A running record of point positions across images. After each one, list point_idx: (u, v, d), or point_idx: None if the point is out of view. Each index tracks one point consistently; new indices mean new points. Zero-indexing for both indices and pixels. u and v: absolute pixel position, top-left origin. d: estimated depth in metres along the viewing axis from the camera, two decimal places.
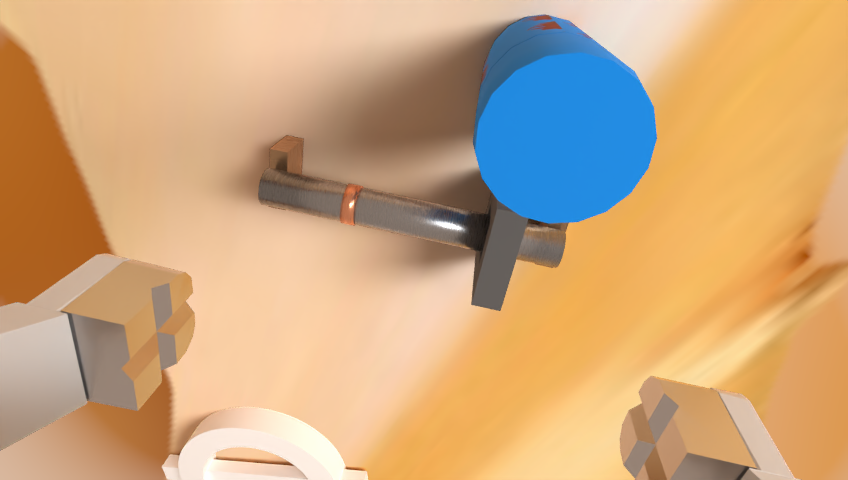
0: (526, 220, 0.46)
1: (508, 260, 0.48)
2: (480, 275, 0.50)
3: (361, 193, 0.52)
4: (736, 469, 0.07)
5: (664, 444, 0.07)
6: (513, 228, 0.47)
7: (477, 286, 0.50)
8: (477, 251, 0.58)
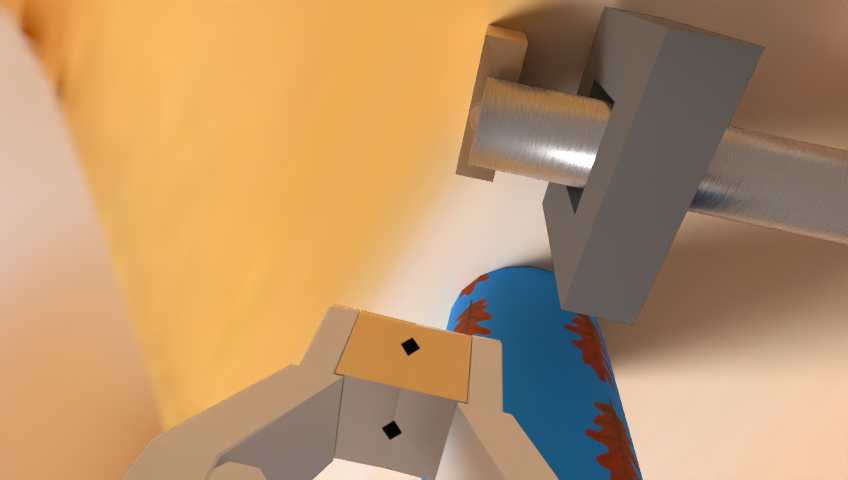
0: (568, 300, 0.21)
1: (621, 203, 0.18)
2: (708, 157, 0.17)
3: None
4: (449, 404, 0.07)
5: None
6: (598, 284, 0.20)
7: (726, 119, 0.17)
8: None
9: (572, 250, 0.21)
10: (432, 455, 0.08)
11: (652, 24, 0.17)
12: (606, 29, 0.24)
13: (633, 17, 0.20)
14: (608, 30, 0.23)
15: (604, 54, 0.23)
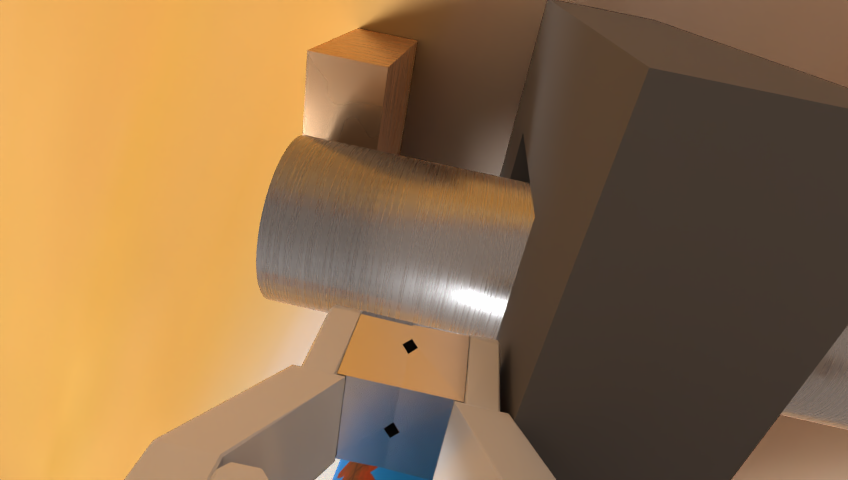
0: None
1: None
2: (766, 418, 0.06)
3: None
4: (446, 404, 0.07)
5: None
6: None
7: (827, 334, 0.06)
8: None
9: None
10: (429, 455, 0.08)
11: (609, 45, 0.06)
12: (544, 41, 0.13)
13: (578, 21, 0.09)
14: (545, 44, 0.12)
15: (537, 91, 0.12)
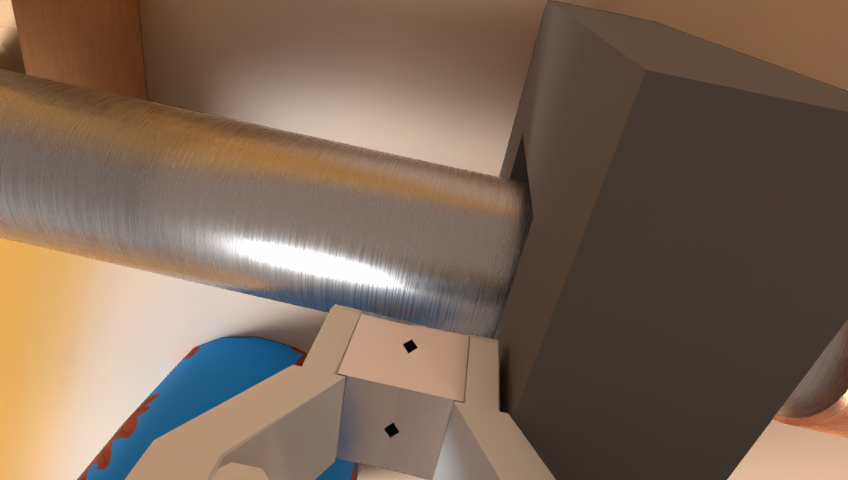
0: None
1: None
2: (761, 418, 0.06)
3: None
4: (446, 403, 0.07)
5: None
6: None
7: (822, 335, 0.06)
8: None
9: None
10: (429, 454, 0.08)
11: (607, 47, 0.06)
12: (544, 42, 0.13)
13: (577, 23, 0.09)
14: (545, 45, 0.12)
15: (536, 91, 0.12)
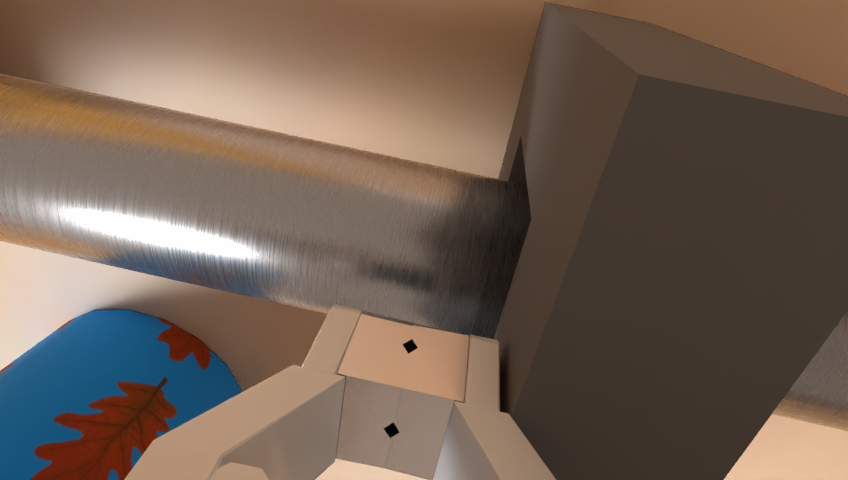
0: None
1: None
2: (757, 418, 0.06)
3: None
4: (446, 403, 0.07)
5: None
6: None
7: (816, 335, 0.06)
8: None
9: None
10: (429, 454, 0.08)
11: (602, 51, 0.06)
12: (542, 45, 0.13)
13: (573, 26, 0.09)
14: (543, 47, 0.12)
15: (534, 94, 0.12)
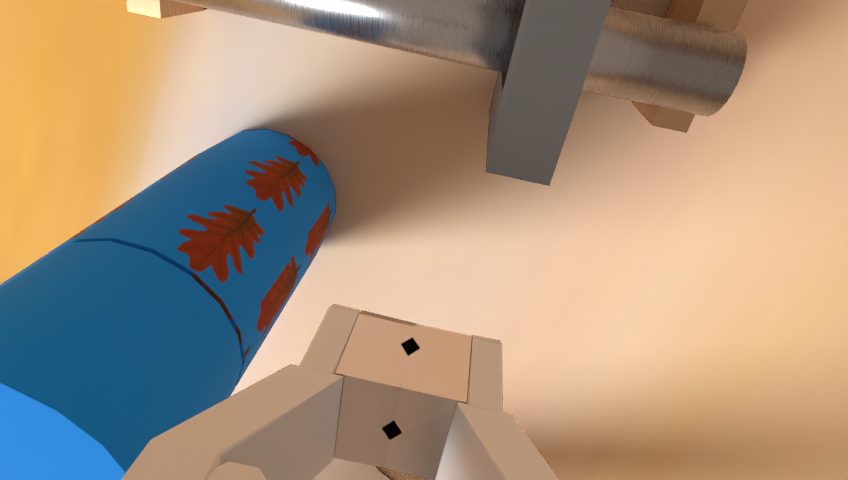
0: (491, 162, 0.23)
1: (531, 63, 0.21)
2: (603, 15, 0.20)
3: (505, 71, 0.26)
4: (449, 404, 0.07)
5: None
6: (517, 145, 0.23)
7: None
8: None
9: (497, 120, 0.24)
10: (432, 455, 0.08)
11: None
12: None
13: None
14: None
15: None
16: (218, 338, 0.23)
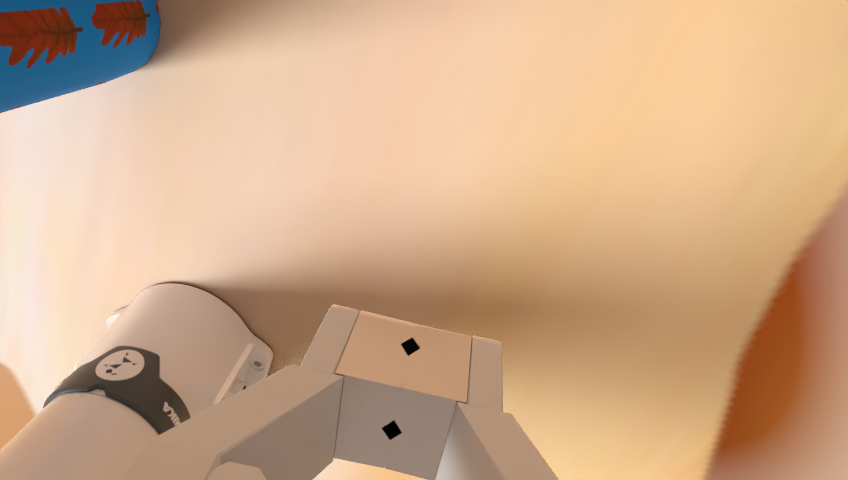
0: None
1: None
2: None
3: None
4: (449, 404, 0.07)
5: None
6: None
7: None
8: None
9: None
10: (432, 455, 0.08)
11: None
12: None
13: None
14: None
15: None
16: None
